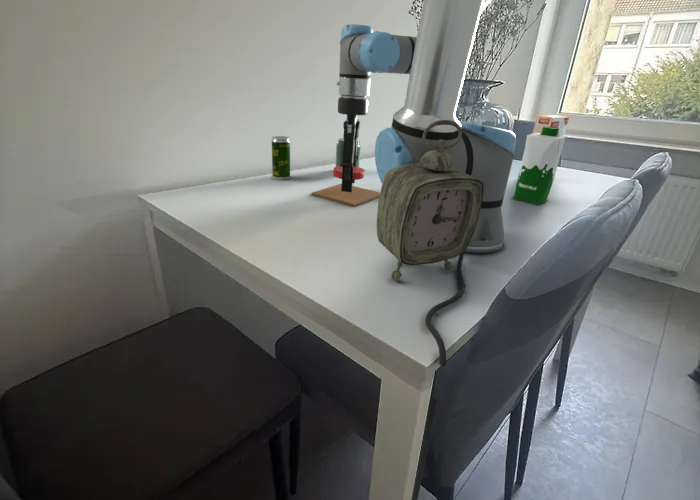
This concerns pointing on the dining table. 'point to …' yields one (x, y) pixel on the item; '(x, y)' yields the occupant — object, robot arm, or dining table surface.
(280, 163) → the beer can
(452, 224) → the tabletop clock
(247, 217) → the dining table surface
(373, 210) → the dining table surface
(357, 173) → the lid
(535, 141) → the milk carton
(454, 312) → the dining table surface
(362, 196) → the mat
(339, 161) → the jar
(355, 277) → the dining table surface
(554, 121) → the cracker box
